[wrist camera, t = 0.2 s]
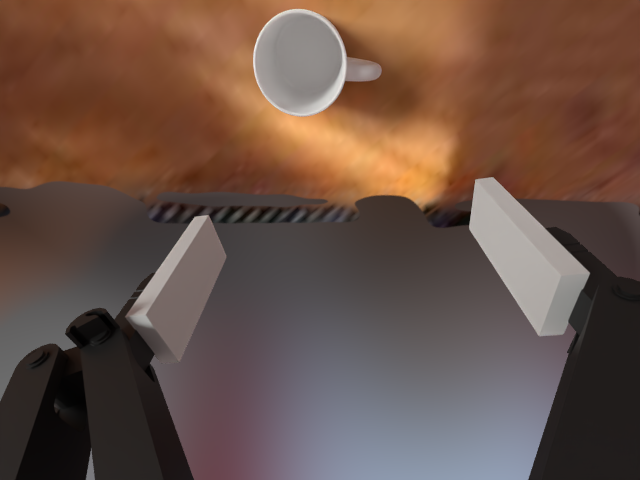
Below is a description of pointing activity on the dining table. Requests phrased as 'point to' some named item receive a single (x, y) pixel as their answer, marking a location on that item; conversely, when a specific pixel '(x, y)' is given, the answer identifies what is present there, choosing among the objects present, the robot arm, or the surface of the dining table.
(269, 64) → the mug
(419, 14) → the dining table surface
